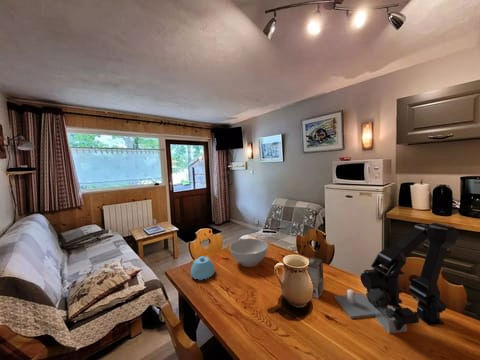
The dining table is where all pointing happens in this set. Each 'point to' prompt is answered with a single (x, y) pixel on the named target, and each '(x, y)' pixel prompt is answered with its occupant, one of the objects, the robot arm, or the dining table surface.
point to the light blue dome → (202, 268)
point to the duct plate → (356, 305)
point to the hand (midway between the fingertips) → (390, 322)
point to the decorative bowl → (249, 251)
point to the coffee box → (316, 276)
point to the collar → (388, 319)
